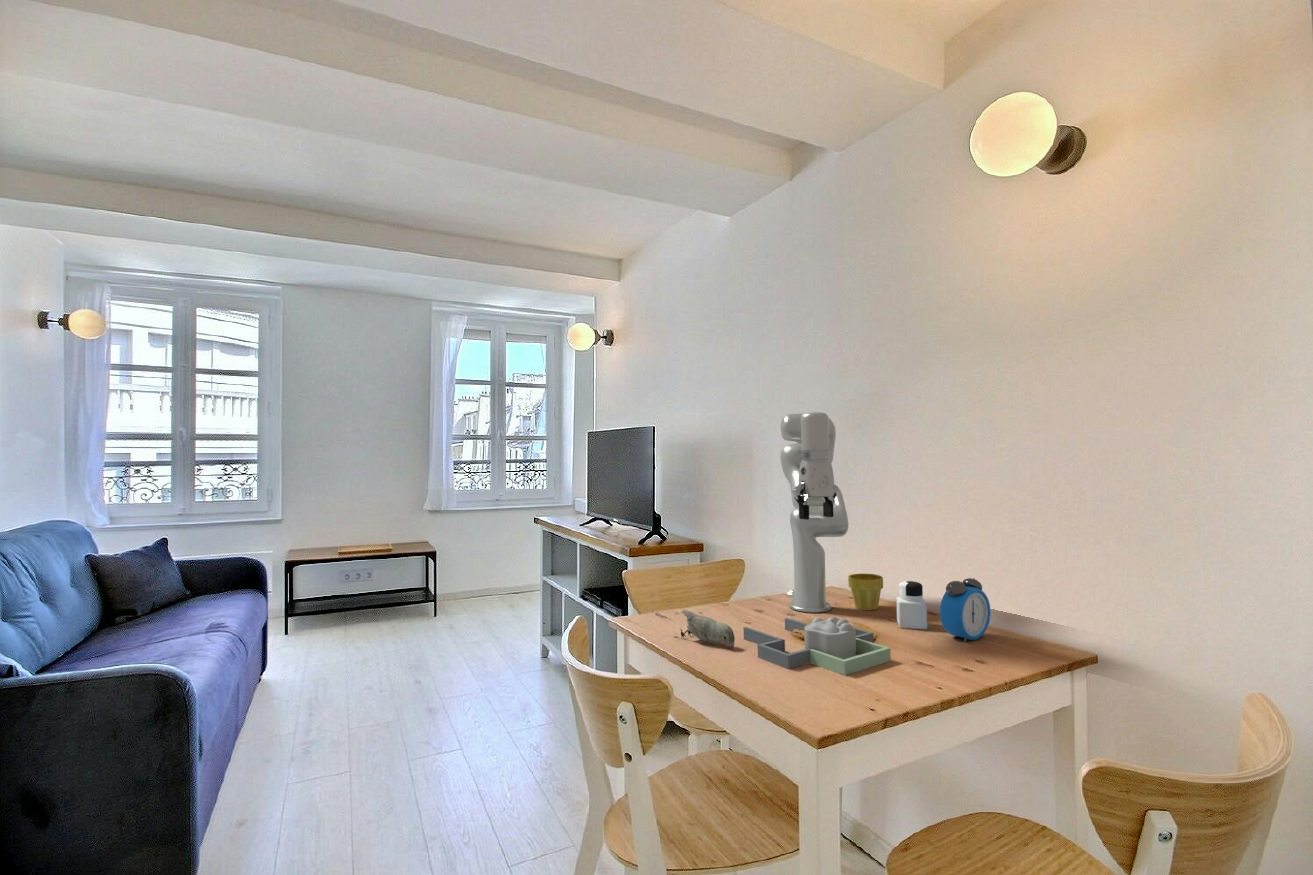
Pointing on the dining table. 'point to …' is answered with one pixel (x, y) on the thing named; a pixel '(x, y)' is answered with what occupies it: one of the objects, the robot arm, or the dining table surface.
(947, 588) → the alarm clock
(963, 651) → the dining table surface
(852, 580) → the plant pot
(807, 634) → the lumpy-topped squat cylinder
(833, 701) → the dining table surface
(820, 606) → the robot arm
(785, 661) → the lane box
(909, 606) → the medicine bottle
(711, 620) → the decorative bird
